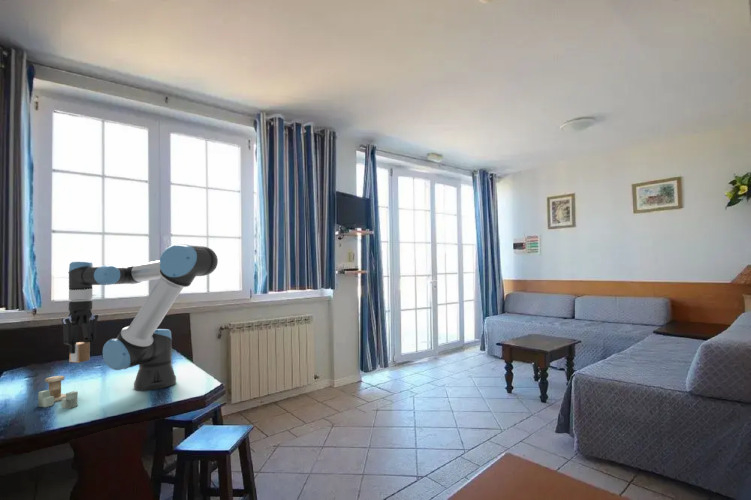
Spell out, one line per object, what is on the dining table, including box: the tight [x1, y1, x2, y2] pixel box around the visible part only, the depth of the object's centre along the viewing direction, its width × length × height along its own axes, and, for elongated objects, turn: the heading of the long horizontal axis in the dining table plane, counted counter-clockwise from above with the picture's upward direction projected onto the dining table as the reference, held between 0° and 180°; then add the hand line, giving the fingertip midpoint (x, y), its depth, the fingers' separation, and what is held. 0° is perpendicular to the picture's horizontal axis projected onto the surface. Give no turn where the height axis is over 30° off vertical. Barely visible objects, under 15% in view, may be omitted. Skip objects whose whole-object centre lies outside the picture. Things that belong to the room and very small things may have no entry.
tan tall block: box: [68, 341, 90, 363], centre depth 155 cm, size 5×4×7 cm
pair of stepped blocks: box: [37, 389, 78, 409], centre depth 138 cm, size 14×2×5 cm, turn 77°
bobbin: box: [44, 375, 66, 403], centre depth 145 cm, size 7×7×8 cm
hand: (80, 360), depth 154 cm, fingers closed on tan tall block, 4 cm apart
